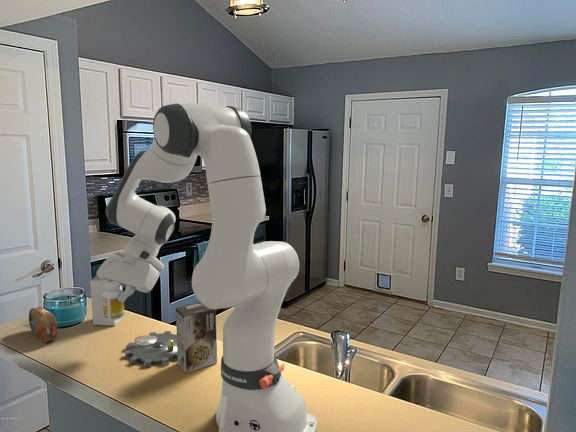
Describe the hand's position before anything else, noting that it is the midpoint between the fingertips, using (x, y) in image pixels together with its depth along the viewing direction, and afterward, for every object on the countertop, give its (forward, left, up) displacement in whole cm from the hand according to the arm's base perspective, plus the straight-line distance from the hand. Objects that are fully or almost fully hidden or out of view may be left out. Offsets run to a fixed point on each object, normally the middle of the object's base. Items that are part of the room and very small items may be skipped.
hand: (111, 298), depth 120 cm
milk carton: (+19, -12, -16) cm, 27 cm away
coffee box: (-23, -9, -16) cm, 30 cm away
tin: (+25, +6, -16) cm, 31 cm away
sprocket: (-9, -8, -16) cm, 20 cm away
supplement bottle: (0, -1, -6) cm, 6 cm away
